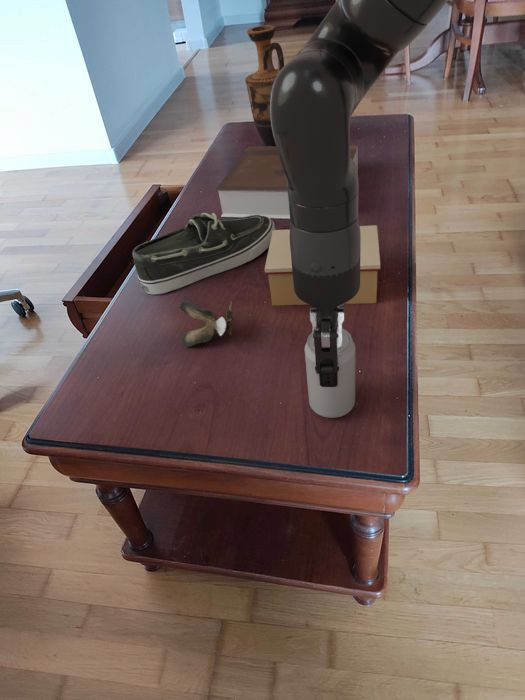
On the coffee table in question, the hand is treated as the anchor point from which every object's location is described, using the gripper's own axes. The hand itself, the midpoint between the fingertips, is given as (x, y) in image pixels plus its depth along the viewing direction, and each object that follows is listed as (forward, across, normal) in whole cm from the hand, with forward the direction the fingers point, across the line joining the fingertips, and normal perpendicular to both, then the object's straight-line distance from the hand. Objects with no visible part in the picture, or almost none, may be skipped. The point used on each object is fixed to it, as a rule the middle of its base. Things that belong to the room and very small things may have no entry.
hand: (329, 361), depth 67 cm
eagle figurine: (+9, +15, +21) cm, 27 cm away
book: (+8, +67, +11) cm, 68 cm away
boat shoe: (+9, +38, +25) cm, 46 cm away
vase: (+9, +93, +18) cm, 95 cm away
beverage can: (+8, 0, 0) cm, 8 cm away
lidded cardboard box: (+8, +29, +2) cm, 30 cm away
